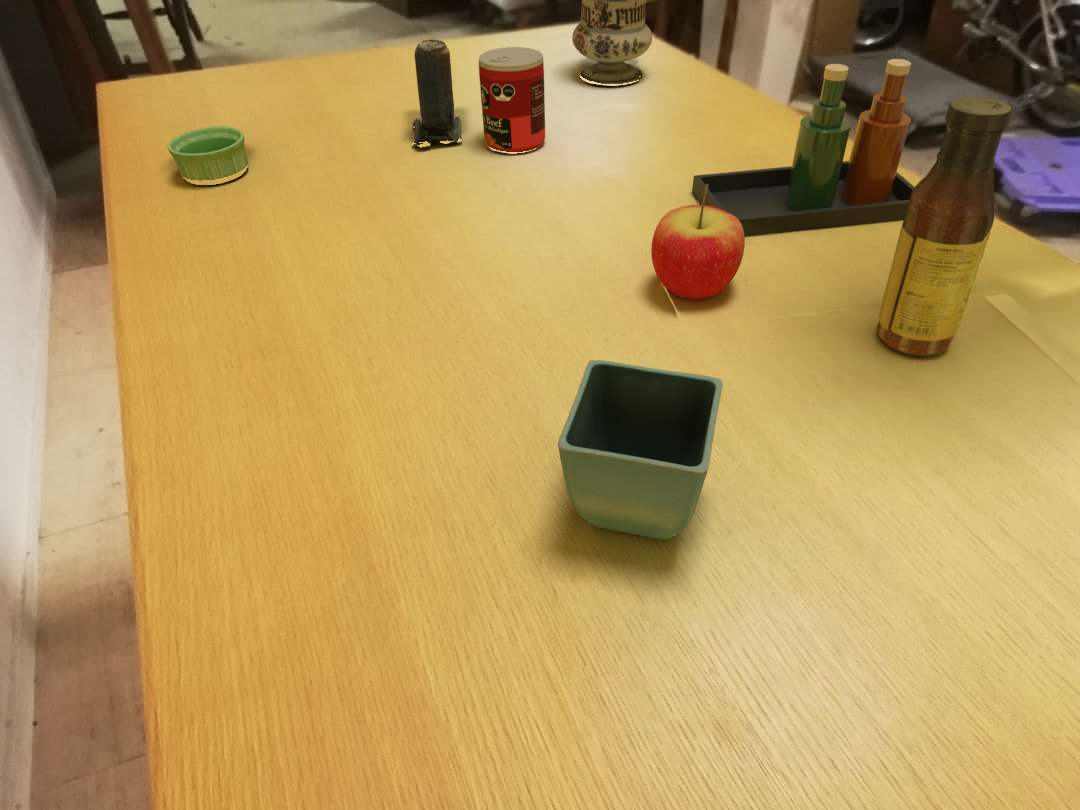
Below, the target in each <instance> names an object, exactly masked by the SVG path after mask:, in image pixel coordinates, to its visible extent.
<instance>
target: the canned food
mask: <svg viewBox="0 0 1080 810" xmlns="http://www.w3.org/2000/svg"><path fill="white" fill-rule="evenodd" d="M544 61H545V60H544V54H543V53H542V51H539V50H538V49H535V48H530V47H523V46H509V47H507V46H505V47H499V48H494V49H490V50H487V51H485V52H483V53H482V54H480V55H479V56H478V76H479V89H480V101H481V114H482V126H483V138H484V142H485V144H487V145H488V146H489V147H491V148H493V149H496V150H500V151H506V152H523V151H529V150H533V149H535V148H538V147H539V146H541V145H542V144H543V145H544V143H545V140H546V108H545V105H546V103H545V101H546V100H545V99H546V98H545V67H544V66H545V65H544V63H545V62H544ZM487 145H486V146H487ZM543 145H542V146H543ZM542 146H541V147H542Z"/></svg>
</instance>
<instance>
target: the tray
mask: <svg viewBox="0 0 1080 810" xmlns="http://www.w3.org/2000/svg"><path fill="white" fill-rule="evenodd" d="M848 164H849V160H843V163H842V167H841V171H840V176H839V180H838V185H837V189H836V193H835V198H834V202H833V206H832V208H824V209H814V210H804V211H794V210H792V209H790V208H789V207H788V206H787V205H786V202H785V201H786V196H787V190H788V185H789V180H790V174H791V169H792V165H791V166H780V167H768V168H760V169H748V170H739V171H728V172H718V173H717V172H716V173H705V174H697V175H696V174H695V175H693V178H692V189H691V194H692V195H693V197H694V198H695V200H696V201H697V203H698V205H702V202H703V196H704V190H705V185H706V184H709V186H708V190H707V194H706V199H705V203H704V205H707V206H712V207H716V208H719V209H722V210H724V211H726V212H728V213H730V214H732V215H734V216H735V217H736V218H737V219H738V220H739V221H740V222H741V224H742V227H743V230H744V237H745V238H747V237H757V236H766V235H777V234H787V233H796V232H805V231H817V230H825V229H835V228H844V227H853V226H855V227H856V226H863V225H875V224H881V223H891V222H892V223H894V222H901V221H902V222H903V221H904V219H905V217H906V213H907V210H908V205H909V200H910V197H911V194H912V191H913V189H914V188H915V186H914V185H913V184H912V183H911V182H910V181H908V180H907V179H906V178H904V176H902V175H901V174H900V173H899V172H897V173H896V176H895V180H894V183H893V187H892V191H891V194H890V198H889V201H888V202H883V203H873V204H864V205H854V206H853V205H850V204H848V203H846V202H845V201H844V200H843V199H842V198H841V194H842V189H843V185H844V181H845V177H846V172H847V168H848Z"/></svg>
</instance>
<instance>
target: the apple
mask: <svg viewBox="0 0 1080 810" xmlns="http://www.w3.org/2000/svg"><path fill="white" fill-rule="evenodd" d="M708 186H709V184H706V185H705V190H704V196H703V202H702V205H700V204H693V205H692V204H691V205H684V206H680V207H679V206H678V207H676V208H673V209H671V210H669V211H668V212H666V213H665V214H664V215H663V216H662V217H661V219H660V220H659V222H658V223H657V225H656V227H655V229H654V232H653V236H652V240H651V249H650V253H651V262H652V266H653V270H654V272H655V274H656V277H657V278H658V280H659V282H660V283H661V285H662V286H663V287H664V288H665V289H666V290H668V291H669V292H670V293H672V294H674V295H675V296H677V297H680V298H683V299H685V300H703V299H708V298H711V297H714V296H717V295H719V294H720V293H721V292H723V291H724V290H725V289H726V288H727V287H728V286H729V285H730V283H731V282H732V281H733V279H734V278H735V276H736V275H737V273H738V271H739V269H740V267H741V264H742V261H743V257H744V252H745V247H746V246H745V242H746V239H745V238H746V237H744V230H743V227H742V224H741V222H740V221H739V220H738V219H737V218H736V217H735V216H734V215H732V214H730V213H728V212H726V211H724V210H722V209H719V208H716V207H712V206H707V205H704V203H705V199H706V194H707V190H708Z"/></svg>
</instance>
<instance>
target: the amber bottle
mask: <svg viewBox="0 0 1080 810" xmlns="http://www.w3.org/2000/svg"><path fill="white" fill-rule="evenodd" d="M911 66H912V62H911V61H909V60H907V59H904V58H892V59H889V60H887V63H886V67H885V70H884V71H885V74H884V79H883V84H882V86H881V91H880V93H875V94H874V95H873V98H872V101H871V105H870V109H867V110H864V111H862V112H860V114H859V117H858V122H857V125H856V130H855V135H854V139H853V142H852V148H851V152H850V155H849V160H848V161H849V164H848V168H847V172H846V177H845V181H844V185H843V189H842V194H841V198H842V199H843V200H844V201H845V202H846V203H848V204H850V205H853V206H854V205H864V204H873V203H883V202H888V201H889V198H890V194H891V191H892V187H893V183H894V180H895V176H896V173H898V169H899V166H900V161H901V158H902V155H903V150H904V146H905V143H906V140H907V137H908V132H909V129H910V125H911V122H912V119H911V117H910V116H909V115H908V114H906V113H904V112H905V109H906V106H907V105H906V104H907V101H908V99H907V97H906V96H904V95H903V91H904V88H905V85H906V81H907V76H908V74H909V73H910V70H911Z"/></svg>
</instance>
